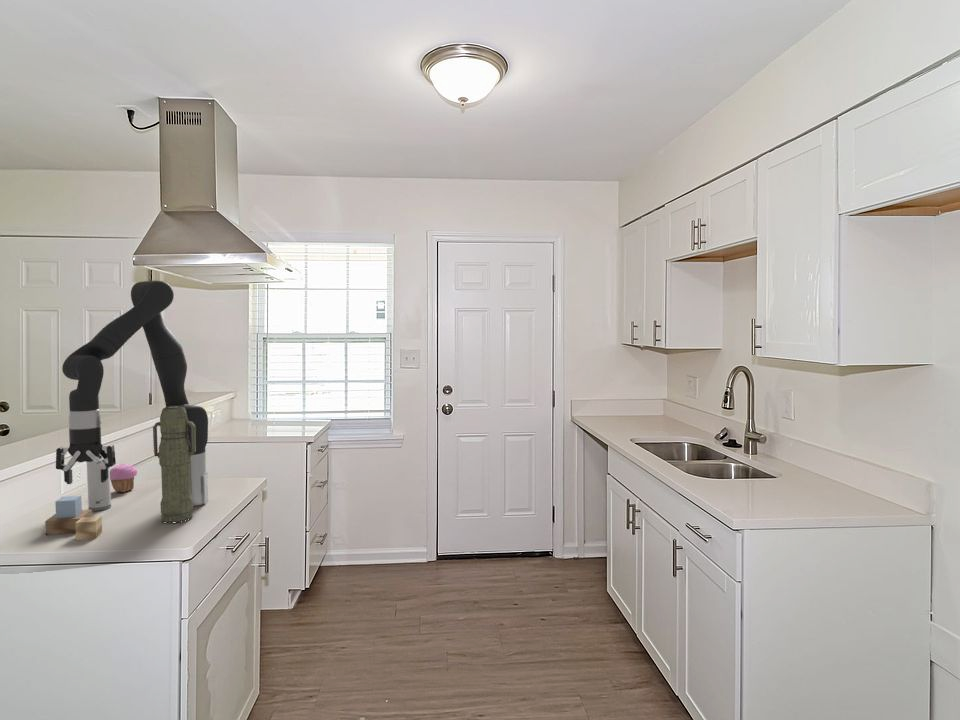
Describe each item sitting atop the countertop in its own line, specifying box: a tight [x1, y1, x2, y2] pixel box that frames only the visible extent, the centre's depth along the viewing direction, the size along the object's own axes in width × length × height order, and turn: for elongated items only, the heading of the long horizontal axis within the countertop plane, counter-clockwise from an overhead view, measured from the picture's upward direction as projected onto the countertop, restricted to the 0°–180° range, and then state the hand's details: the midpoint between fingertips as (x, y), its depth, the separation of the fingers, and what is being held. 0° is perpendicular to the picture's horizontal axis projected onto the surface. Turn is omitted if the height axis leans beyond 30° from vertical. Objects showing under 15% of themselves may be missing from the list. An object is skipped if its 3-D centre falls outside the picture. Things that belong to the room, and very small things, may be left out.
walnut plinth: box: [44, 509, 93, 535], centre depth 181 cm, size 9×9×4 cm
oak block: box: [75, 515, 103, 541], centre depth 175 cm, size 5×5×5 cm
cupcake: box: [110, 463, 138, 493], centre depth 221 cm, size 9×9×10 cm
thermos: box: [152, 406, 196, 524], centre depth 189 cm, size 9×12×35 cm
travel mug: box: [86, 450, 112, 512], centre depth 201 cm, size 6×7×20 cm
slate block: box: [54, 495, 83, 518], centre depth 181 cm, size 5×5×5 cm
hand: (86, 482), depth 174 cm, fingers open, 8 cm apart
